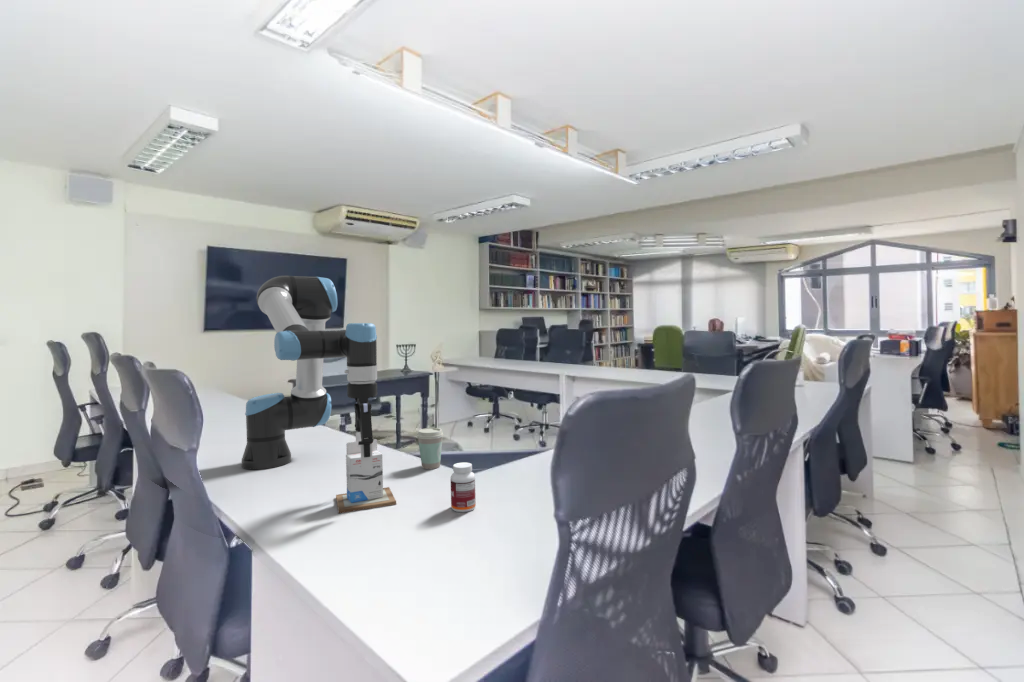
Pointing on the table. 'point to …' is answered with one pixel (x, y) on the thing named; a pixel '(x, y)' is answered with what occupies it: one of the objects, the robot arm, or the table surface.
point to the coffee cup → (430, 447)
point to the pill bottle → (463, 488)
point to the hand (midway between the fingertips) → (363, 461)
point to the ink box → (363, 474)
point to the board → (365, 502)
